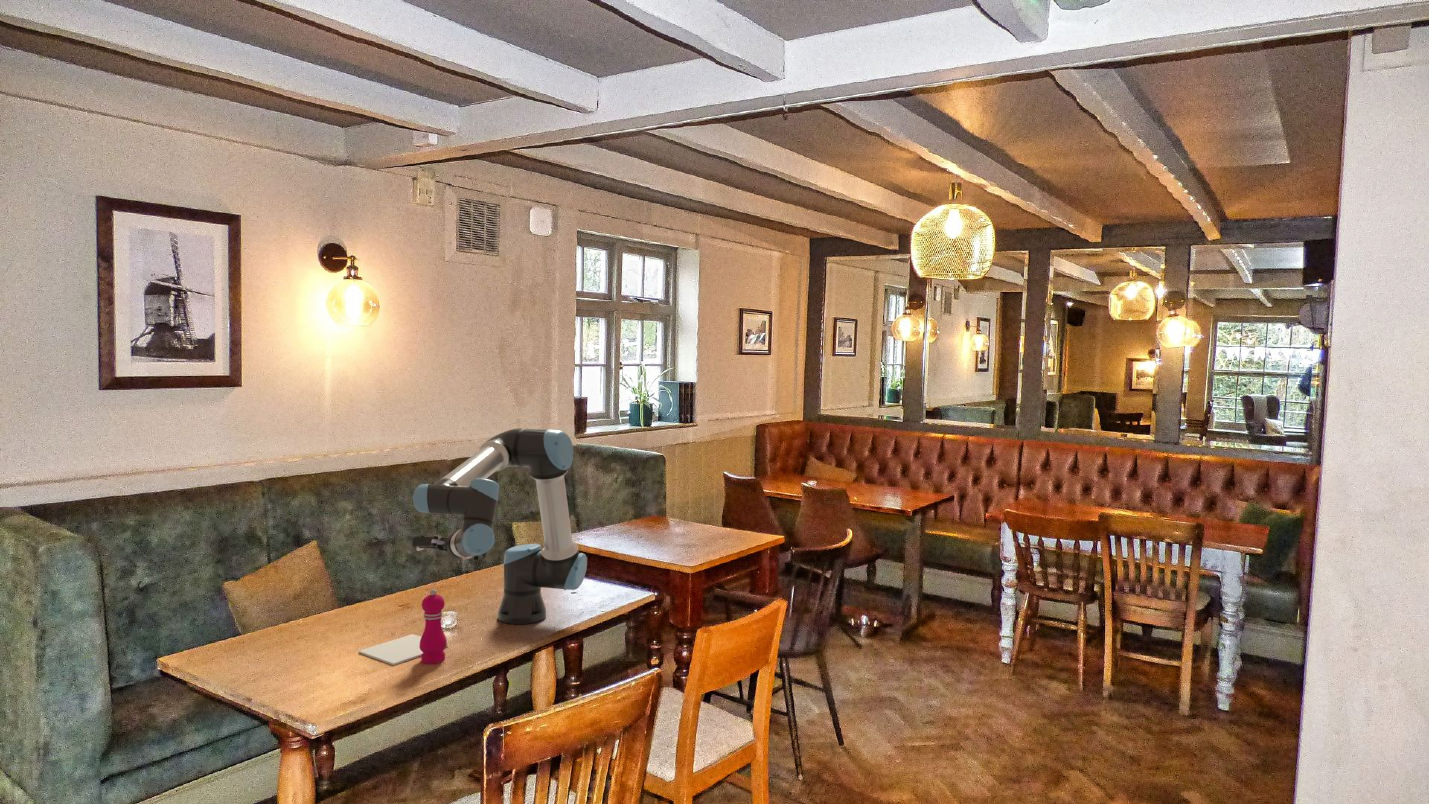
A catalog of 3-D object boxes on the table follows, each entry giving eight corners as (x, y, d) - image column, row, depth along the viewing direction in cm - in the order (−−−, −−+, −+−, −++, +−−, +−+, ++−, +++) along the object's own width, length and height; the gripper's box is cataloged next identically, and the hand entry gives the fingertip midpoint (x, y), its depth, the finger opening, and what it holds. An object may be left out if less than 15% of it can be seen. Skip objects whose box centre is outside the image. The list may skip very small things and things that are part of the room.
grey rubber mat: (447, 647, 247) (447, 645, 247) (393, 665, 233) (393, 663, 232) (412, 635, 256) (412, 634, 256) (358, 652, 241) (358, 650, 241)
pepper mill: (452, 657, 239) (452, 587, 238) (435, 666, 233) (435, 594, 231) (430, 654, 242) (430, 584, 241) (413, 662, 235) (413, 591, 234)
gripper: (412, 549, 218) (394, 555, 235) (506, 565, 230) (483, 570, 247) (419, 520, 220) (401, 528, 238) (511, 538, 232) (487, 544, 250)
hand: (442, 550), depth 243 cm, fingers open, 13 cm apart
